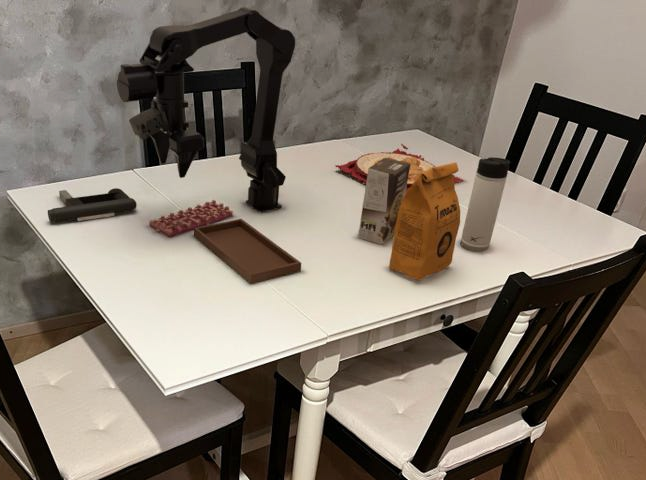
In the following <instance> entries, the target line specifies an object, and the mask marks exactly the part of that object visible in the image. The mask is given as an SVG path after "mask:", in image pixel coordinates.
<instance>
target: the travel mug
mask: <svg viewBox="0 0 646 480" xmlns="http://www.w3.org/2000/svg"><path fill="white" fill-rule="evenodd" d="M510 164H511V161H510V160H509V159H507V158H501V157H491V156H490V157H488V158H480V159H478V164H477V168H476V172H475V177H474V181H473V184H472V189H471V194H470V199H469V202H468V207H467V210H466V211H467V212H466V216H465V220H464V224H463V229H462V232H461V233H462V234H461V238H460V243H459V244H460V246H461V247H462V248H463V249H465V250H466V251H470V252H475V253H481V252H483V253H484V252H486V251H488V250H489V249H490V245H491V241H492V237H493V233H494V229H495V226H496V221H497V217H498V214H499V210H500V206H501V202H502V199H503V195H504V194H503V193H504V189H505V187H506V186H505V185H506V182H507V178H508V172H509V168H510V166H511V165H510Z"/></svg>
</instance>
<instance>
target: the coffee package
mask: <svg viewBox="0 0 646 480" xmlns="http://www.w3.org/2000/svg"><path fill="white" fill-rule="evenodd" d="M458 172H459V167H458V163H457V162H451V163H447V164H442V165H438V166H435V167H432V168H430V169H428V170H426V171H425V172H423V173H421V174H420V175H419V177H418V178H417V179H416V181H415V182H414V183H413V184H412V186H411V187H410V188H409V189H408V190H407V192H406V194H405V195H404V197H403V199H402V202H401V205H400V209H399V212H398V217H397V222H396V226H395V231H394V236H393V239H392V246H391V254H390V259H389V265H388V268H389V269H390V270H391V271H395V272H400V273H402V274H404V275H405V276H407V277H408V278H410V279H415V280H418V281H421V280H423V279H424V278H427V277H429V276H431V275H434V274H437V273H439V272H441V271H443V270H445V269H447V268H448V267H449V266H450V265H451V264H452V262H453V256H454V251H455V246H456V240H457V237H458V233H459V229H460V226H461V207H460V206H461V205H460V202H459V197H458V194H457V191H456V188H455V187H456V186H455V185H456V184H455V182H454V177H453V176H452V175H454V174H456V173H458Z"/></svg>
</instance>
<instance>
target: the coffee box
mask: <svg viewBox="0 0 646 480" xmlns="http://www.w3.org/2000/svg"><path fill="white" fill-rule="evenodd" d="M410 165H411V164H410V163H406V162H402V161H397V160H391V159H387V158H384V159H382V160H381V161H379V162H378V163H376V164H374V165H373V166H371V167H370V168H368V175H367V181H366V184H365V189H364V195H363V201H362V210H361V214H360V215H361V216H360V222H359V229H358V234H357V238H359V239H362V240H364V241H367V242H368V241H369V242H372V243H373V244H374V243H375V244H377V245H381V246H383V245H385V244H386V243H387V242H388V241H390V240H391V239H392V238H394V231H395V226H396V222H397V217H398V212H399V209H400V205H401V202H402V199H403V197H404V195H405V193H406V187H407V181H408V176H409V170H410Z"/></svg>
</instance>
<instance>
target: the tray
mask: <svg viewBox="0 0 646 480" xmlns="http://www.w3.org/2000/svg"><path fill="white" fill-rule="evenodd" d="M193 237H194V239H196V240H197V241H198V242H200V243H201V244H202V245H203V246H204V247H206V248H207V249H208V250H209V251H210V252H212V253H213V254H214V255H215V256H216V257H218V258H219V259H220V260H221V261H223V262H224V263H225V264H226V265H227V266H228V267H230V268H231V269H232V270H233V271H234V272H236V273H237V274H238V275H239V276H240V277H242V278H243V279H244V280H245V281H246V282H247V283H249V284H250V285H251V284H256V283H260V282H264V281H268V280H273V279H276V278H280V277H285V276H288V275H293V274H297V273H301V270H302V262H301V261H299V260H298V259H297V258H296V257H294V256H293V255H292V254H290V253H289V252H287V251H286V250H285V249H283V248H282V247H281V246H280V245H278V244H276V243H275V242H274V241H273V240H271V239H270V238H269V237H267V236H266V235H264V234H263V233H261V232H260V231H259V230H257V229H256V228H255V227H254V226H252V225H251V224H249V222H246V221H245V220H244V219H243V218H237V219H232V220H227V221H221V222H216V223H212V224H209V225H206V226H201V227H196V228H194V230H193Z"/></svg>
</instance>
